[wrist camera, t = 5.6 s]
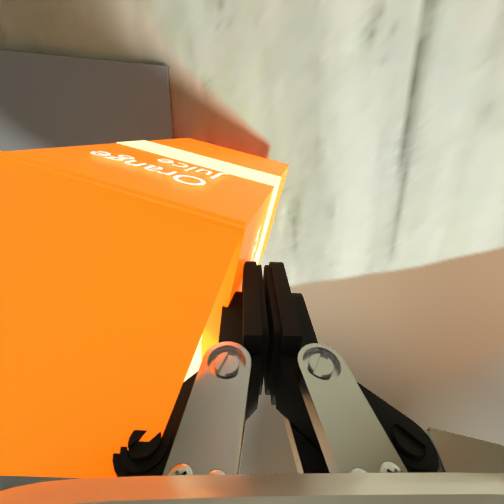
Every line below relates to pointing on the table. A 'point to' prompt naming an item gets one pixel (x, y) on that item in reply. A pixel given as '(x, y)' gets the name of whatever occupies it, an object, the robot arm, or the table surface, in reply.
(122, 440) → the orange juice
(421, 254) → the table surface
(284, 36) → the table surface
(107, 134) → the mat
